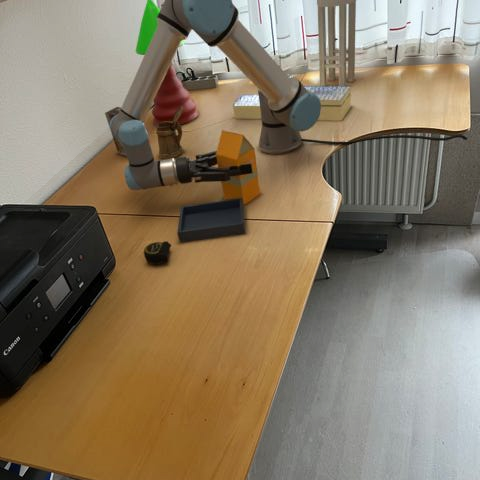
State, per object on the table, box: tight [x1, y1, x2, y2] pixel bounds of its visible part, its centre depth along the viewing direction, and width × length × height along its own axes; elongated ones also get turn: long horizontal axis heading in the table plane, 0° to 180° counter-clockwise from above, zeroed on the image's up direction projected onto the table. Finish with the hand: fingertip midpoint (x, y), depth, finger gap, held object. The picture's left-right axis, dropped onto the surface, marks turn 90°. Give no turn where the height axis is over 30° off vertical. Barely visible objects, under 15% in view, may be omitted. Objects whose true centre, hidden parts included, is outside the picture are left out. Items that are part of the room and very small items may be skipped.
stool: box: [316, 0, 357, 87], centre depth 201 cm, size 16×16×35 cm
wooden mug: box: [155, 105, 184, 160], centre depth 175 cm, size 9×14×18 cm, turn 68°
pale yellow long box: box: [232, 85, 352, 122], centre depth 192 cm, size 45×15×10 cm, turn 66°
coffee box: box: [104, 106, 127, 157], centre depth 183 cm, size 9×6×16 cm
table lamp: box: [135, 0, 199, 126], centre depth 195 cm, size 20×20×45 cm
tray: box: [176, 198, 246, 243], centre depth 139 cm, size 19×15×3 cm
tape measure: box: [143, 240, 172, 265], centre depth 130 cm, size 7×7×4 cm
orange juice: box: [216, 129, 261, 206], centre depth 143 cm, size 8×9×20 cm
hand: (251, 160), depth 142 cm, fingers closed on orange juice, 10 cm apart
